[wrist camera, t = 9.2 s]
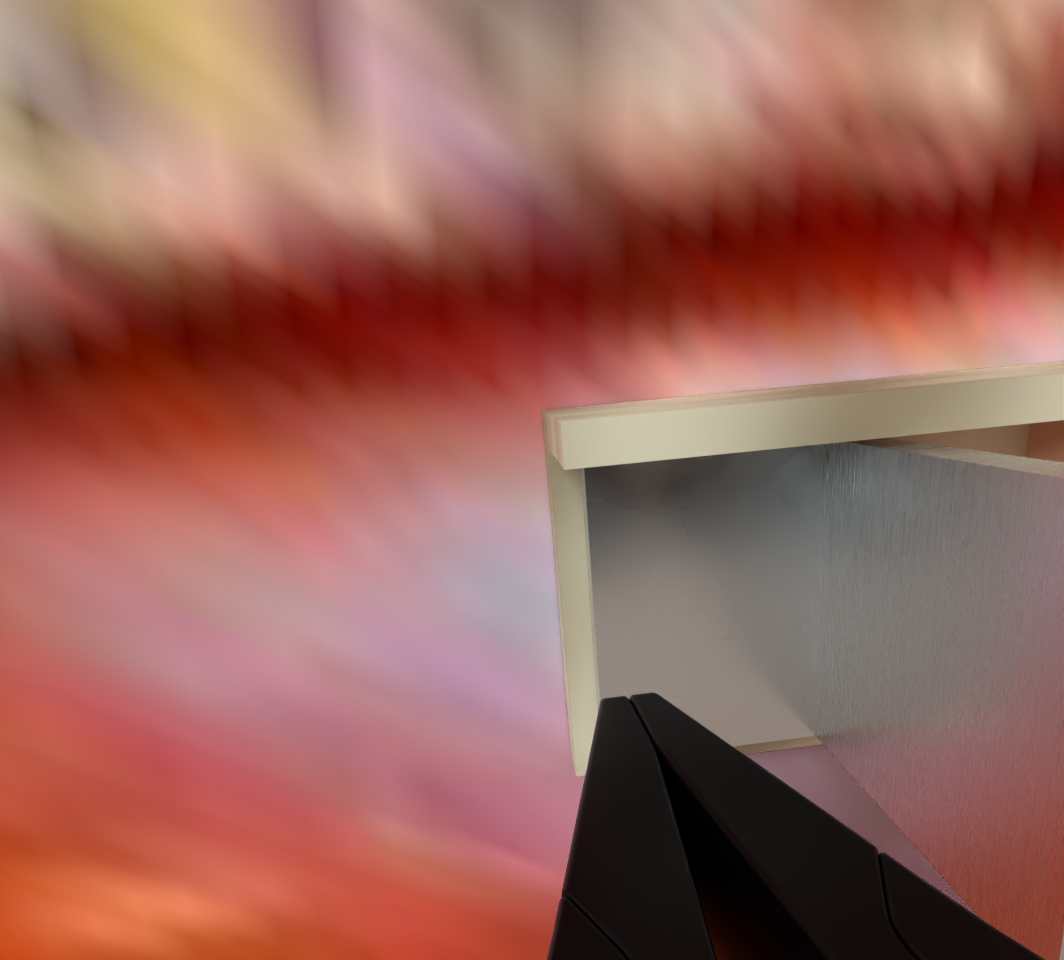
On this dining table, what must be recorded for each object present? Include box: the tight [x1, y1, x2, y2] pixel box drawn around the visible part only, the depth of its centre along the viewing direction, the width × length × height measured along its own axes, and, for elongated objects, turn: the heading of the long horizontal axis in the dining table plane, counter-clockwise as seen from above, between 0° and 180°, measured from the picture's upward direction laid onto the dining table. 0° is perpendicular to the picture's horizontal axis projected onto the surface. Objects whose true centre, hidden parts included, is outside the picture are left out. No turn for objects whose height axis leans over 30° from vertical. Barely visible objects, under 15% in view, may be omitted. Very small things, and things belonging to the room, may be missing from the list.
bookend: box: [580, 438, 1064, 960], centre depth 8 cm, size 6×7×6 cm
